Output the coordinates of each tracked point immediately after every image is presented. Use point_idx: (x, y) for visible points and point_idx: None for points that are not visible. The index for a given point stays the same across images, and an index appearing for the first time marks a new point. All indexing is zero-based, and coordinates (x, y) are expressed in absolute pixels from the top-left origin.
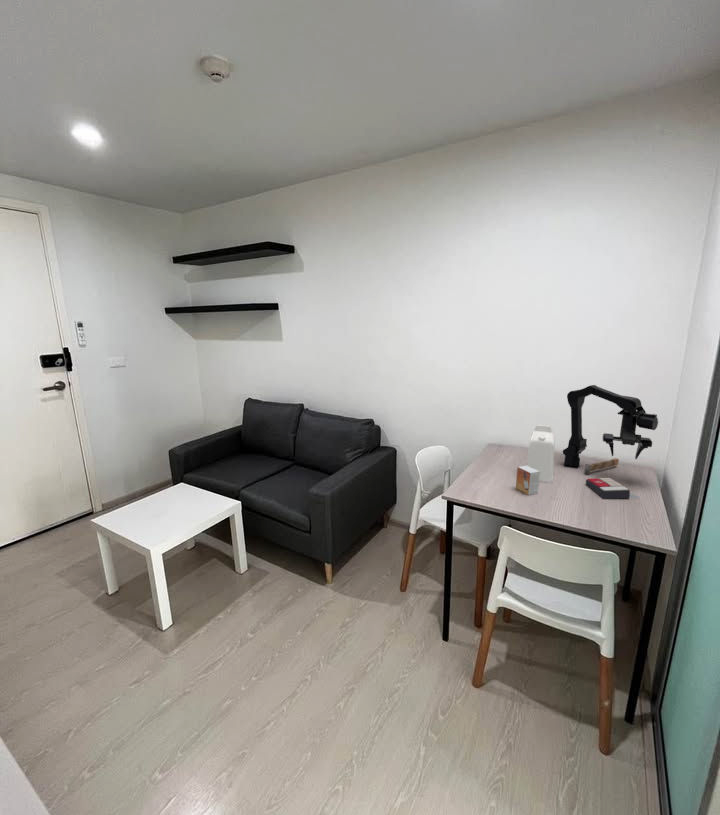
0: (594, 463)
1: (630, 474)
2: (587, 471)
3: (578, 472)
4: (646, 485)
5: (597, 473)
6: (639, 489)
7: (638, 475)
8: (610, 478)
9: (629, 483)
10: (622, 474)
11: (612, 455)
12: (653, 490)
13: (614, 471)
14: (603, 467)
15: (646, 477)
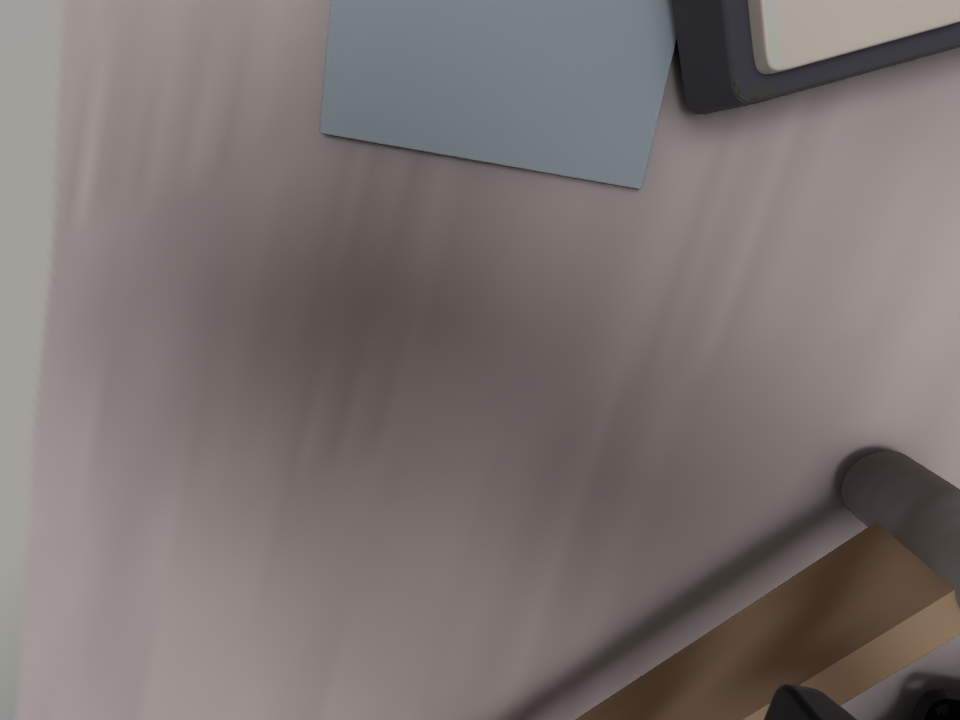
0: None
1: (254, 662)
2: (945, 483)
3: None
4: (128, 301)
5: (679, 599)
6: (259, 86)
7: (164, 651)
8: (767, 29)
9: (346, 318)
10: (355, 639)
11: (829, 703)
12: (64, 106)
13: (428, 717)
14: (607, 711)
15: (80, 606)
